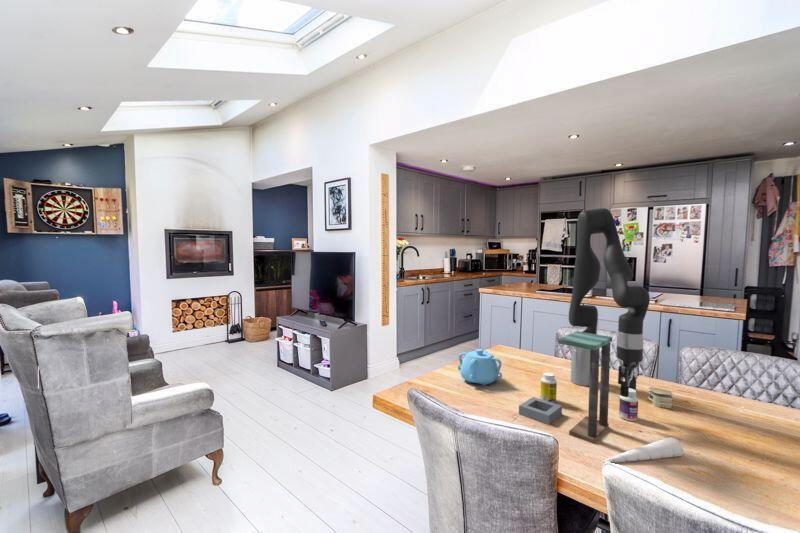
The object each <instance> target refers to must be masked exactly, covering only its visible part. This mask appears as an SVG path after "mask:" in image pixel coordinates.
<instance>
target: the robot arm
mask: <svg viewBox="0 0 800 533" xmlns="http://www.w3.org/2000/svg"><path fill="white" fill-rule="evenodd" d="M576 223H577V224H576V254H575V262H574V269H573V270H574V271H573V280H572V282H573V283H572V294H571V299H570V304H569V310H568V322H569V324H570V326H573V327H578V328H580V327H581V328H585V329H584V330H582V331H581V332H585V333H591V334H597V332H598V330H597V329H598V323H599V322H598V320H599V319H598V318H599V313H598V312H599V311H598V308H597V306H595V305H593V304H592V305H590V304H581V303H582V301H583V299H585V297H586V295H588V293H590V292H591V291H592V289H593V288H594V287H596V285H597V284H598V283H599V281H600V276H601V266H602V265H601V262H600V259H599V258H598V256H597V255H596V253H595V251H594V250H593V248H592V245H591V244H592V243H591V237H592V235H596V234H603V236H604V237H605V240H606V246H605V250H604V255H603V265H604V267H605V269H606V273H607V274H608V277H609V279H610V286H611V291H612V297H613V300H614V302H615V303H616V305H617V306H618V307H620V308H626V309H627V308H628V310H627V312H624V313H623V314H620V315H619V316H618V322H617V323H618V326H617V327H618V330H617V331H618V332H617V338H616V358H617V359H618V360H621V361H622V364H621V365H619V366H618V373H617V374H618V378H617V383H618V385H620V390H619V391H620V393H619V394H620V395H621V396H624V397H628V396H629V388H631V389H634V390H636V391H637V380H638V377H639V376H640V363H641V362H643V360H644V320H645V317H646V315H647V311H648V309H649V306H650V301H651V300H650V299H651V297H650V294H649V292H648V290H647V289H646V288H645V287H643V286H638V285H637V286H635V285H633V286H629V284H628V282H630V281H632V280H633V278H634V272H633V271H632V268H631V266H630V263H629V261H628V260H627V257H626V256H625V253H624V250H623V248H622V244H621V240H620V236H619V235H620V234H619V231H618V229H617V224H616V223H615V219H614V216H613V214H612V212H611V211H610V210H609V209H608V208H595V209H587V210H582V211H581V212H579V214H578V218H577V222H576ZM597 335H598V334H597ZM570 361H571V362H570V364H571V366H570V381H571V383H573V384H575V385H579V386H584V387H589V378H590V349H585V348H579V347H574V346H571V360H570ZM620 395H619V396H620Z"/></svg>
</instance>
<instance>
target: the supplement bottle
mask: <svg viewBox="0 0 800 533" xmlns="http://www.w3.org/2000/svg"><path fill="white" fill-rule="evenodd" d="M542 376H543V377H541V379H540V397H539V399H541V400H545V401H548V402H551V403H554V404H555V403H556V402H557V388H558V387H557V386H558V383H557V382H558V381H557V379H555V378H556V376H555V373H552V372H544V373H543V375H542Z"/></svg>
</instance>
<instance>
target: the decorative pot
mask: <svg viewBox="0 0 800 533" xmlns="http://www.w3.org/2000/svg"><path fill="white" fill-rule="evenodd" d="M462 356H464V358H463V359H462ZM458 361H459V364H458V366H457V370H458V371H459V374H460V376H461V378H462V379H463V380H465V381H466V382H467V383H474V384H480V385H481V386H487V385H490V384H492V383H493V382H495V381H496V379H497V380H498V379H499V380H501V379H502V378H503V373H502V372H500V371H501V368H502V361H501V359H500V358H498V357H495V356H494V354H493V353H490V352H488V351H486V350H484V349H482V348H477V349H475V350H471V351H470V352H461V353H459V355H458Z"/></svg>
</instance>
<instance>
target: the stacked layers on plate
mask: <svg viewBox="0 0 800 533" xmlns="http://www.w3.org/2000/svg"><path fill="white" fill-rule="evenodd" d="M648 395H649V396H648V397H647V399H649V400H650V401H651V402H652V406H654V408H655V407H656V408H664V407H665V408H666V409H670V408H671V409H672V405H674V404H673V402H672V400H673V399H674V398H673V395H674V393H673V392H672V391H671V390H667V389H663V388H658V387H652V386H651V387H648Z"/></svg>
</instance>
